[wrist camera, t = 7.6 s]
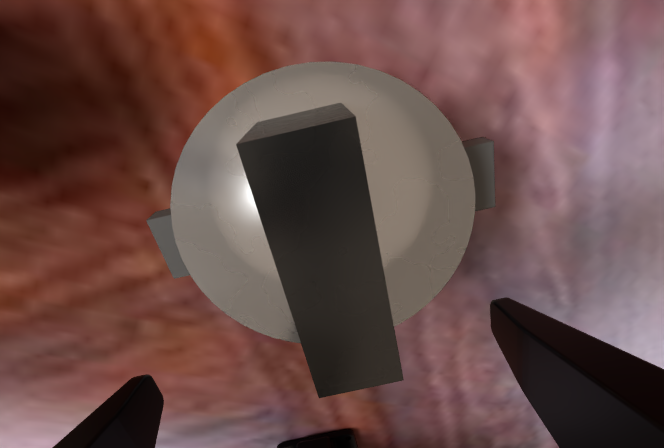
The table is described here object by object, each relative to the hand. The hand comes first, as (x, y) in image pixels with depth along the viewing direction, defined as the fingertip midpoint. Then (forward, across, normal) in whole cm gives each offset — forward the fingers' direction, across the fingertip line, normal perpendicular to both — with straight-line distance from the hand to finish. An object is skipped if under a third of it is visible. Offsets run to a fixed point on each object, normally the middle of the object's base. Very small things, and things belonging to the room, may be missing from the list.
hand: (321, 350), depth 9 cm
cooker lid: (+7, -1, -1) cm, 7 cm away
